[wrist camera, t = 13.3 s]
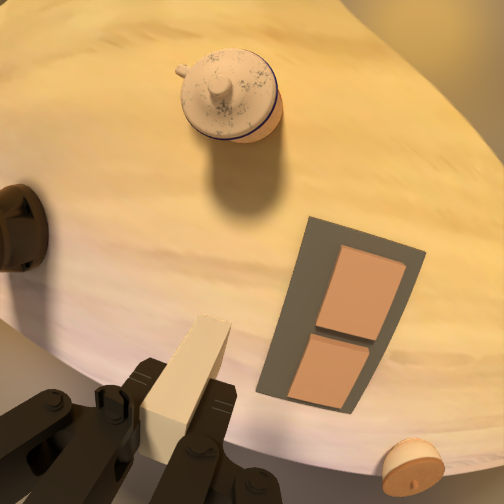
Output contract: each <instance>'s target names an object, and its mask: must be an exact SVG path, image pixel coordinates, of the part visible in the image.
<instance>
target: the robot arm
mask: <svg viewBox="0 0 504 504" xmlns="http://www.w3.org/2000/svg"><path fill="white" fill-rule="evenodd" d="M47 245H48V227H47V221H46V216H45V213H44V209H43V207H42V204H41V202H40V200H39V199H38V197H37V195H36V194H35V193H34V192H33V190H31V189H30V188H29V187H28V186H26V185H23V184H16V185H10V186H7V187H4V188H3V189H1V190H0V272H26V271H29V270H31V269H33V268H35V267H37V266H38V265H39V264H40V263H41V262H42V260H43V259H44V256H45V254H46V250H47ZM231 325H232V323H230V322H227V321H223V320H220V319H217V318H214V317H211V316H208V315H204V314H200V316H199V317H198V319H197V320H196V322H195V323H194V325H193V326H192V328H191V329H190V331H189V332H188V334H187V335H186V337H185V338H184V340H183V341H182V343H181V344H180V346H179V347H178V349H177V350H176V352H175V353H174V355H173V356H172V358H171V360H170V361H169V363H168V364H166V363H163V362H161V361H158V360H156V359H153V358H148V359H146V360H144V361H142V362H140V363H139V365H138V366H137V367H136V369H135V370H134V372H132V374H131V375H130V376H129V378H128V379H127V380H126V381H125V383H124V384H123V385H122V387H120V386H116V385H105V386H102V387H99V388H98V389H96V390H95V401H96V407H86V406H81V405H77V404H73V403H72V402H71V399H70V398H69V396H68V395H67V394H65V393H64V392H62V391H60V390H56V389H48V390H45V391H42V392H40V393H39V394H37V395H35V396H34V397H32V398H30V399H29V400H27V401H25V402H23V403H22V404H20V405H18V406H17V407H15V408H13V409H11V410H10V411H8V412H6V413H5V414H3V415H2V416H0V504H15V503H17V502H18V501H19V500H21V499H22V498H23V497H25V496H26V495H28V494H29V493H30V492H31V493H30V494H29V496H28V497H27V498H26V500H25V501H24V502H23V504H111V503H112V501H113V499H114V497H115V495H116V494H117V492H118V490H119V488H120V486H121V484H122V483H123V481H124V479H125V477H126V476H127V474H128V472H129V470H130V468H131V467H132V465H133V460H134V454H135V452H136V451H137V449H138V447H139V453H140V454H142V455H144V456H146V457H149V458H151V459H154V460H156V461H159V462H161V463H164V464H167V466H166V468H165V471H164V473H163V475H162V477H161V479H160V481H159V484H158V485H157V488H156V490H155V492H154V494H153V496H152V499H151V500H150V503H149V504H282V499H281V493H280V487H279V483H278V481H277V478H276V477H274V475H273V474H272V473H270V472H268V471H266V470H265V469H261V468H256V467H255V468H247V469H243V468H242V467H240V466H238V465H236V464H235V463H233V462H232V461H231V460H230V459H229V458H228V457H227V456H226V454H225V453H224V450H223V441H224V437H225V434H226V431H227V428H228V424H229V421H230V418H231V415H232V411H233V408H234V405H235V401H236V398H237V393H236V389H235V386H234V385H231V384H227V383H224V382H221V381H218V380H215V379H216V377H217V374H218V372H219V370H220V367H221V363H222V359H223V355H224V352H225V348H226V344H227V340H228V336H229V332H230V329H231Z"/></svg>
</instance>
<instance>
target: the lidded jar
mask: <svg viewBox="0 0 504 504" xmlns="http://www.w3.org/2000/svg"><path fill="white" fill-rule="evenodd" d="M444 472H445V467H444V463H443V462H442V459H441V456H440V454H439V452H438V451H437V449H436V448H435V446H433V445H432V444H431V443H430V442H428V441H425V440H421V439H419V438H409V439H405V440H403V441H401V442H399V443H398V444H396V445H395V446H394V447H393V449H392V450H391V451H390V452H389V454H388V455H387V457H386V458H385V461H384V464H383V469H382V480H383V483H382V487H383V491H384V492H385V493H386V494H388V495H390V496H395V497H404V496H409V495H414V494H417V493H419V492H422V491H424V490H426V489H428V488H430V487H431V486H433V485H434V484H435V483H437V482H438V481H439V480H440V479H441V477H442V476H443V474H444Z"/></svg>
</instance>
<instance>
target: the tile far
mask: <svg viewBox="0 0 504 504" xmlns="http://www.w3.org/2000/svg"><path fill="white" fill-rule="evenodd" d="M368 356H369V350H368V348H367V347H363V346H358V345H354V344H350V343H346V342H342V341H338V340H334V339H330V338H326V337H323V336H319V335H315V334H310V336H309V339H308V342H307V344H306V347H305V350H304V352H303V355H302V357H301V360H300V362H299V365H298V367H297V370H296V372H295V375H294V377H293V380H292V382H291V385H290V387H289V390H288V395H287V397H291V398H295V399H299V400H303V401H308V402H312V403H316V404H321V405H326V406H330V407H335V408H340V409H341V408H342V406H343V404H344V402H345V400H346V398H347V397H348V395H349V393H350V391H351V389H352V387H353V385H354V383H355V382H356V380H357V378H358V376H359V374H360V372H361V370H362V368H363V366H364V364H365V362H366V360H367V358H368Z"/></svg>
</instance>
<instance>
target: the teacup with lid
mask: <svg viewBox="0 0 504 504" xmlns="http://www.w3.org/2000/svg"><path fill="white" fill-rule="evenodd" d="M175 73H176V74H177V75H179V76H181V77H182V78H184V82H183V85H182V89H181V104H182V109H183V112H184V114H185V116H186V118H187V120H188V122H189V123H190V124H191V125H192V126H193V127H194V128H195V129H196V130H197V131H198V132H200V133H201V134H203V135H205V136H207V137H210V138H213V139H218V140H229V141H233V142H237V143H252V142H256V141H259V140H261V139H263V138H265V137H266V136H268V135H269V134H270V133H271V132H272V131H273V130H274V129H275V128H276V126H277V125H278V123H279V121H280V119H281V116H282V111H283V102H282V98H281V95H280V92H279V90H278V85H277V80H276V77H275V74H274V72H273V70H272V69H271V67H270V66H269V64H268V63H267V62H266V61H265V60H264V59H262V58H261V57H260V56H258V55H257V54H255V53H253V52H250V51H247V50H243V49H237V48H226V49H220V50H217V51H214V52H211V53H209V54H207V55H205V56H204V57H202V58H201V59H200V60H198V61H197V62H196V63H195V64H194V65H193V66H192V67H189V66H187V65H184V64H179V65H178V66H177V68H176V70H175Z"/></svg>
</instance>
